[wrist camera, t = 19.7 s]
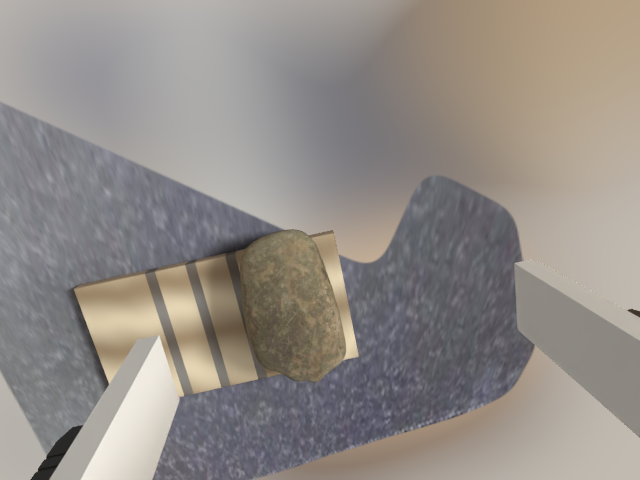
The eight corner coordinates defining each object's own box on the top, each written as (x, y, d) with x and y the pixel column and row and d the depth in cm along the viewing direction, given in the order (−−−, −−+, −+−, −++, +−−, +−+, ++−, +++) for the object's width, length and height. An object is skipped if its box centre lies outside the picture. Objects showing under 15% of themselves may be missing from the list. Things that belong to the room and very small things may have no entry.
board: (79, 284, 44) (73, 289, 42) (332, 230, 44) (334, 232, 43) (123, 403, 47) (119, 410, 46) (356, 351, 48) (358, 356, 47)
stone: (273, 388, 46) (246, 401, 36) (250, 258, 49) (221, 238, 39) (354, 370, 45) (350, 379, 35) (326, 241, 48) (315, 216, 39)
